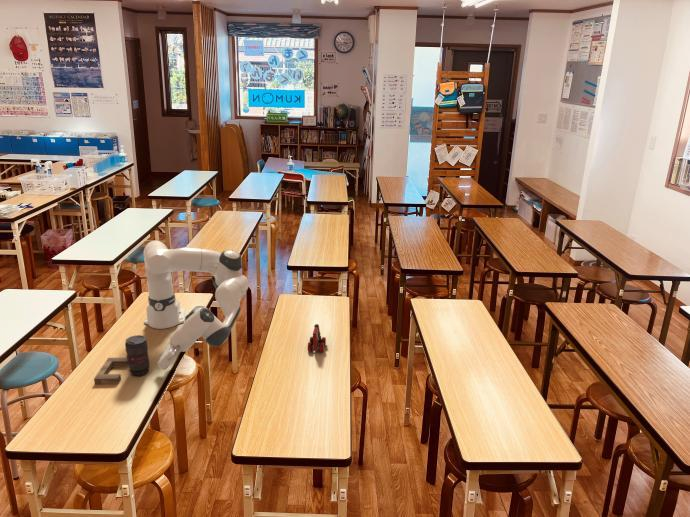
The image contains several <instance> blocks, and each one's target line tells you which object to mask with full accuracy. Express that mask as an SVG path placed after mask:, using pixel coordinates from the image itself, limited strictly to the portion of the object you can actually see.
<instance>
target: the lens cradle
mask: <svg viewBox="0 0 690 517" xmlns="http://www.w3.org/2000/svg"><path fill="white" fill-rule="evenodd" d="M114 366H120V367H128V361H127V356H126V357H125V356H124V357H123V356H122V357H108V358H107V359H106V360H105V362H104V363H103V365H102V366H101V368H100V370H99V371H98V372H97V373H96V375H95V376H94V379H93V381H94V385H116V384H117V385H119V384H120V383H121V380H122V377H121V373H114V374H111V373H110V372H111V370H112V369H113V367H114Z"/></svg>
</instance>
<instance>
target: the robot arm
mask: <svg viewBox="0 0 690 517" xmlns="http://www.w3.org/2000/svg"><path fill="white" fill-rule="evenodd" d="M143 260H144V267H145V268H144V269H145V276H146V282H147V283H146V284H147V291H148V298H147V301H148V305H147V306H146V309H145V310H146V319H144V324H146V325H148V326H149V327H150V328H153V329H157V330H161V329H169V328H172V327H175V326H177V325H179V324H182V325H180V326H179V327H177V328H176V329H175V331H173V333H171V335H170V336H169V341H168V342H167V344H166V347H165V348H164V350H163V352H162V354H161V356H160V357H159V358H158V360H156V361H157V362H156V364H157V366H158V367H159V368H160V369H162V370H166V369H167V368H168V367H169V366H171V364H172V363H173V362H174V361H175V360H176V358H177V357H178V355H179V353H181V352H182V353H183V352H184V353H185V352H187V351H188V350H189V349H190V348H191V347H192V346H193V345H194V344H195V343H196V342H197V340H198V339H200V338H202V339H203V340H204V341H205V342H206V343H207V344H208V346H209V347H212V348H213V347H215V348H216V347H217V348H218V347H221V346H222V345H224V343H225V342H226V341H228V338H229V336H230V334H231V331H232V328H233V327H234V325H235V323H236V321H237V319H238V317H239V315H240V312H241V309H242V308H241V304H240V303H241V302H240V300H241V299H242V298H243V297H244V295H245V294H246V292H247V291H248V289H249V286H250V284H249V280H248V277H246V275H244V274H242V273H241V270H242V269H243V259H242V255H241V254H240V253H239V252H238V251H236V250H234V249H225V250H223V251H222V252H219V251H216V250H212V249H206V248H198V247H197V248H196V247H186V246H184V247H179V248H171V249H170V248H168V247H167V246H166V244H165V243H163V242H162V241H160V240H151V241H149V242H148V243H147V244H145V246H144V249H143ZM173 272H198V273H200V272H201V273H210V274H212V275H213V276H211V282H213V286H214V288H215V292H214V293H215V294H214V296H215V301H216V303H217V304H218V306H219V307H220V309H221V311H222V312H223V314H224V317H225V318H224V320H223V322H222V321H221V320H220V319H218V317H217V316H215V314H214V313H213V312H212V311H211V310H210V309H209V308H208V307H206V306H203V305H198V306H197V305H196V306H195V307H194V308H192V309H191V311H190V312H188V314H187V315H186V308H184V307H181V306H180V301H179V300H178V299H177V298H176V295H175V294H176V289H175V290H174V286H173V276H172V273H173Z"/></svg>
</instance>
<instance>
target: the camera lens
mask: <svg viewBox="0 0 690 517" xmlns="http://www.w3.org/2000/svg"><path fill="white" fill-rule="evenodd" d="M124 345H125V346H124V347H125V352H126V357H127V361H128V366H127V367H128V369H129V370H128V371H129V372H130V374H131V377H132V376H133V377H136V378H138V377H143V376H145V375H146V376H147V374H149V370H150V369H149V368H150V358H149V352H148V348H149V346H148V341H147V338H146V336H144V335H141V334H139V335H136V334H135V335H132V336H131V335H130V336H129V337H128V338H126V339H125V344H124Z"/></svg>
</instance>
